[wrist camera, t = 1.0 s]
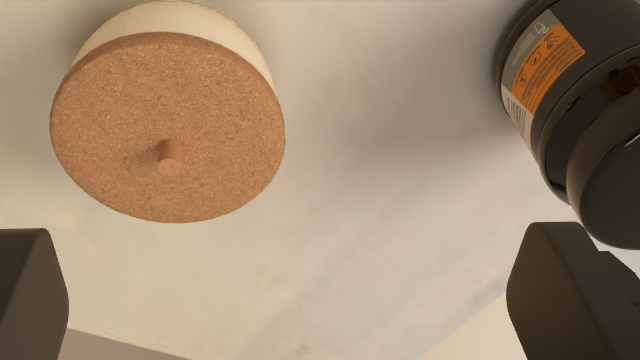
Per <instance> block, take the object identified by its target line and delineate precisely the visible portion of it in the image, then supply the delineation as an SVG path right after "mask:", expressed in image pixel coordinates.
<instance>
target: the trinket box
mask: <svg viewBox="0 0 640 360" xmlns="http://www.w3.org/2000/svg"><path fill="white" fill-rule="evenodd" d="M50 135H51V141H52V145H53V148H54V150H55V153H56V155H57V158H58V160H59V161H60V163H61V165H62V166H63V168H64V170H65V171H66V172H67V174H68V175H69V176H70V177H71V178H72V179H73V181H74V182H75V183H76V184H77V185H78V186H79V187H80V188H82V189H83V190H84V191H85V192H86V193H87V194H88V195H90V196H91V197H93V198H94V199H96V200H97V201H99V202H100V203H102V204H104V205H106V206H108V207H110V208H111V209H113V210H115V211H118V212H120V213H123V214H126V215H129V216H132V217H136V218H139V219H143V220H147V221H155V222H163V223H189V222H198V221H203V220H209V219H213V218H216V217H219V216H222V215H225V214H228V213H230V212H232V211H234V210H236V209H239V208H240V207H242V206H243V205H245V204H247V203H248V202H250V201H251V200H253V199H254V198H255V197H256V196H257V195H258V194H260V193H261V192H262V191H263V190H264V189H265V188H266V186H267V185H268V184H269V183H270V182H271V180H272V179H273V177H274V176H275V174H276V172H277V170H278V169H279V166H280V163H281V161H282V158H283V154H284V147H285V127H284V119H283V115H282V111H281V107H280V104H279V99H278V94H277V90H276V86H275V82H274V79H273V76H272V73H271V71H270V69H269V67H268V64H267V62H266V60H265V58H264V57H263V55H262V53H261V52H260V50H259V49H258V47H257V46H256V44H255V43H254V41H253V40H252V39H251V38H250V37H249V36H248V35H247V34H246V33H245V32H244V30H242V29H241V28H240V27H239V26H237V25H236V24H235V23H234V22H232V21H231V20H230V19H228V18H227V17H225V16H223V15H222V14H220V13H218V12H216V11H214V10H212V9H209V8H207V7H204V6H202V5H198V4H193V3H189V2H183V1H172V0H169V1H155V2H150V3H145V4H141V5H138V6H135V7H132V8H130V9H127V10H124V11H122V12H120V13H119V14H117V15H115V16H114V17H112V18H110V19H109V20H108V21H107V22H105V23H104V24H103V25H102V26H101V27H100V28H98V29H97V30H96V31H95V32H94V33H93V34H92V35H91V36H90V38H89V39H88V40H87V41H86V43H85V44H84V45H83V46H82V48H81V49H80V51H79V52H78V53H77V55H76V57H75V59H74V61H73V63H72V65H71V67H70V69H69V71H68V73H67V74H66V75H65V77H64V79H63V81H62V83H61V85H60V87H59V89H58V91H57V93H56V95H55V98H54V101H53V105H52V109H51V113H50Z"/></svg>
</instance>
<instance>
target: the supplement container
mask: <svg viewBox="0 0 640 360" xmlns="http://www.w3.org/2000/svg"><path fill="white" fill-rule="evenodd" d="M496 89H497V93H498V97H499V99H500V102H501V104H502V106H503V108H504V109H505V111H506V113H507V114H508V115H509V117H510V118H511V119H512V120H513V122H514V124H515V126H516V127H517V129H518V131H519V132H520V134H521V136H522V138H523V139H524V141H525V143H526V144H527V146H528V148H529V150H530V151H531V153H532V155H533V156H534V158H535V160H536V162H537V163H538V165H539V168H540V172H541V174H542V177H543V179H544V181H545V182H546V184H547V186H548V187H549V189H550V190H551V191H552V192H553V193H554V195H556V196H557V197H558V198H559V199H560V200H562V201H563V202H565V203H566V204H568V205H570V206H572V208H573V210H574V211H575V213H576V215H577V216H578V218H579V220H580V221H581V223H582V225H583V226H584V228H585V229H586V231H587V232H588V233H589V234H590V235H591V236H592V237H593V238H595V239H596V240H598V241H599V242H601V243H603V244H606V245H608V246H611V247H615V248H620V249H627V250H640V0H539V1H538V2H537V3H536V4H534V5H533V6H532V7H531V8H530V9H529V10H528V11H527V12H526V13H525V14H524V15H523V16H522V17H521V18H520V19H519V21H518V22H517V23H516V24H515V26H514V27H513V28H512V30H511V31H510V33H509V35H508V36H507V38H506V40H505V42H504V44H503V46H502V49H501V51H500V54H499V58H498V62H497V67H496Z"/></svg>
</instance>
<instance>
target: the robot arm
mask: <svg viewBox="0 0 640 360" xmlns="http://www.w3.org/2000/svg"><path fill="white" fill-rule="evenodd" d="M506 301H507V308H508V312H509V316H510V319H511V321H512V324H513V326H514V328H515V331H516V333H517V335H518V338H519V340H520V343H521V345H522V347H523V350H524V352H525V354H526V357H527V359H528V360H640V279H639V278H638V277H637V275H636V274H635V273H634V272H633V271H632V270H631V269H630V268H628V267H627V266H626V265H625V264H624V263H622V262H621V261H620V260H619V259H617V258H616V257H615V256H614V255H613V254H612V253H610V252H609V251H598V249H597V248H596V246H595V244H594V243H593V241H592V239H591V238H590V237H589V235H588V233H587V232H586V230H585V229H584V227H583V226H582V225H581V224H580V223H578V222H534V223H531V224H530V225H529V226H528V228H527V230H526V232H525V235H524V238H523V241H522V244H521V246H520V249H519V252H518V255H517V257H516V260H515V263H514V266H513V269H512V271H511V274H510V277H509V280H508V283H507V290H506ZM68 314H69V300H68V293H67V289H66V286H65V282H64V279H63V275H62V272H61V269H60V265H59V262H58V259H57V255H56V252H55V249H54V245H53V242H52V239H51V236H50V234H49V232H48V231H47V230H46V229H44V228H33V229H0V360H57V358H58V354H59V351H60V348H61V345H62V341H63V338H64V335H65V331H66V328H67V323H68Z"/></svg>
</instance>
